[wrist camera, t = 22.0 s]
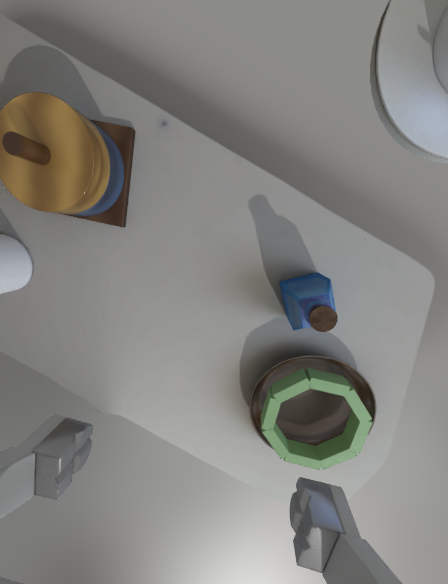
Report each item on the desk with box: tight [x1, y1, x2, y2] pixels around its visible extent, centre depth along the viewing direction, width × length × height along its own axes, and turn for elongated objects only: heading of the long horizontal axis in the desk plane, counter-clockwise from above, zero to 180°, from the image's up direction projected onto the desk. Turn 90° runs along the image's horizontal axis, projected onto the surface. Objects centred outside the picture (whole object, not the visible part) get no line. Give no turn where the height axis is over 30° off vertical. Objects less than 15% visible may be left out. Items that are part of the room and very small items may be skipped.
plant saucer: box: [249, 355, 376, 450], centre depth 43 cm, size 21×21×3 cm
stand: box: [0, 92, 135, 227], centre depth 34 cm, size 14×14×13 cm
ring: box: [261, 368, 372, 470], centre depth 40 cm, size 16×16×3 cm
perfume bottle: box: [279, 273, 338, 332], centre depth 35 cm, size 6×6×12 cm
